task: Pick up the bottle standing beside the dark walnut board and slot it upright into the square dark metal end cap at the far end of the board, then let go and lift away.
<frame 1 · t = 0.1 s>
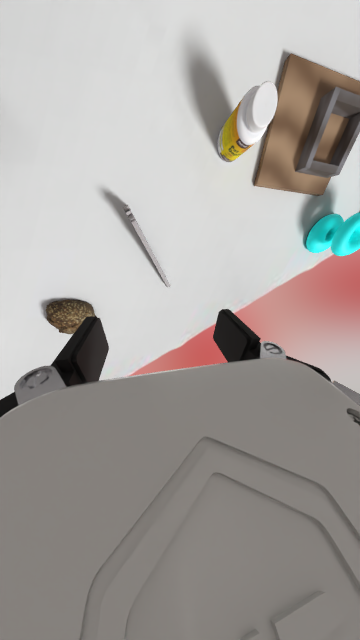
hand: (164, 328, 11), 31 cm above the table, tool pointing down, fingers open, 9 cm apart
donuts: (318, 234, 42), on the table
supplement bottle: (228, 144, 28), on the table
caliper: (151, 253, 36), on the table
bread roll: (74, 316, 41), on the table
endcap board: (305, 142, 30), on the table
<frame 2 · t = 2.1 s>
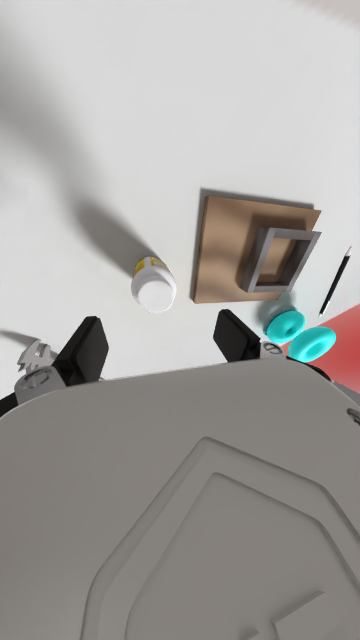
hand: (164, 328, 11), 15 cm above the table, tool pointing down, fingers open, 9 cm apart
pen: (329, 286, 35), on the table
donuts: (280, 324, 38), on the table
supplement bottle: (151, 273, 23), on the table
caliper: (82, 365, 31), on the table
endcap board: (248, 260, 25), on the table
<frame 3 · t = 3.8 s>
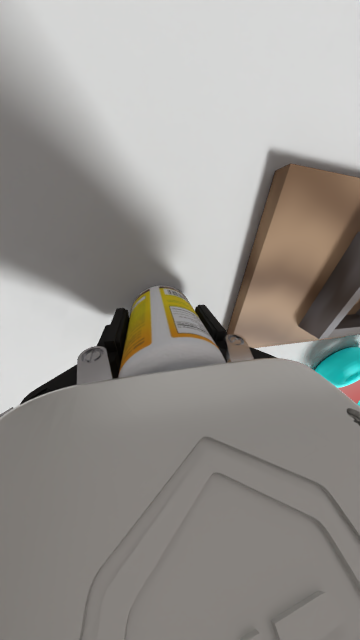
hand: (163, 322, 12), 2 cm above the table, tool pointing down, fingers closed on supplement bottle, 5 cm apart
donuts: (332, 361, 28), on the table
supplement bottle: (161, 310, 13), on the table, touching gripper
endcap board: (317, 284, 15), on the table
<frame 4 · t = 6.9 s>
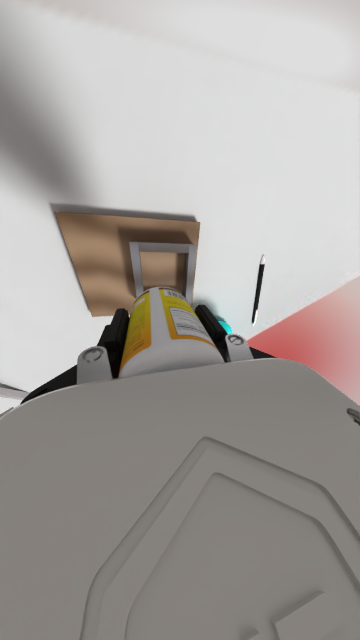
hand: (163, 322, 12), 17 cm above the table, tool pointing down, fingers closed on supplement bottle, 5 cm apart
pen: (255, 295, 34), on the table
supplement bottle: (161, 311, 13), point 15 cm above the table, touching gripper
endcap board: (141, 272, 25), on the table
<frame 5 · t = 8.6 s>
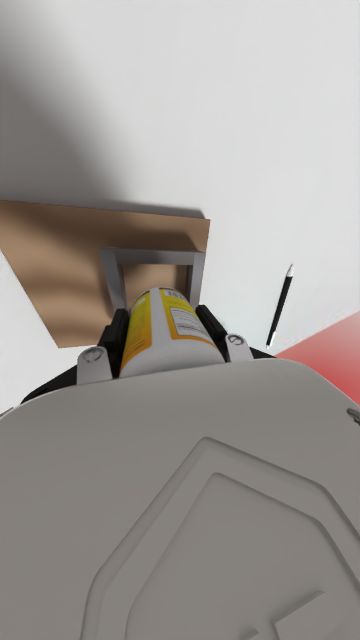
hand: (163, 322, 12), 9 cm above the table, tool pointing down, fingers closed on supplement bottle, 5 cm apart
pen: (274, 313, 27), on the table
supplement bottle: (161, 311, 13), point 6 cm above the table, touching gripper
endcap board: (125, 289, 18), on the table
when the fingers open (5 cm above the table, at t = 10.2 s): supplement bottle drops 1 cm, resting on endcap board.
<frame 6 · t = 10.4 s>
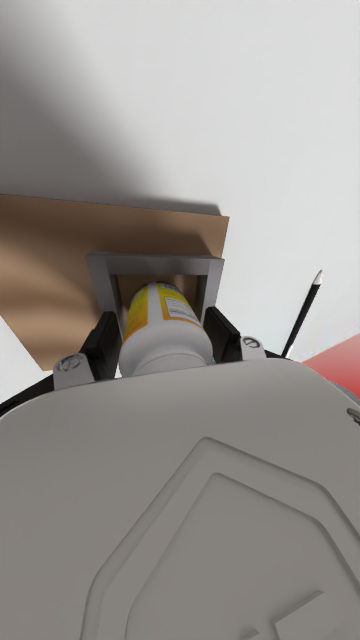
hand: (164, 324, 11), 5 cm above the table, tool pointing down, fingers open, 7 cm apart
pen: (293, 325, 24), on the table
supplement bottle: (159, 304, 15), point 1 cm above the table, touching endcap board
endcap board: (122, 301, 15), on the table
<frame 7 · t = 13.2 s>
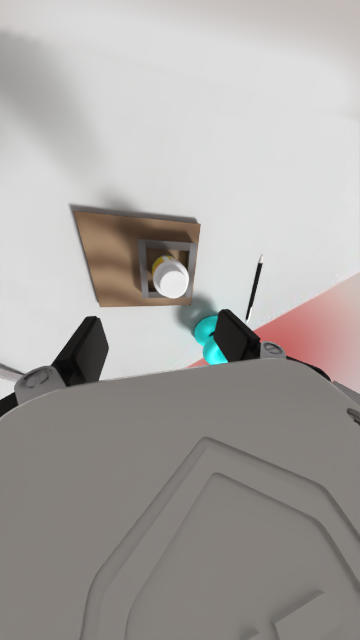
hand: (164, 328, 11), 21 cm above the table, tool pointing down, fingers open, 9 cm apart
pen: (251, 293, 36), on the table
donuts: (209, 328, 40), on the table
supplement bottle: (165, 269, 27), point 1 cm above the table, touching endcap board
caliper: (7, 364, 33), on the table
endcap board: (146, 267, 27), on the table
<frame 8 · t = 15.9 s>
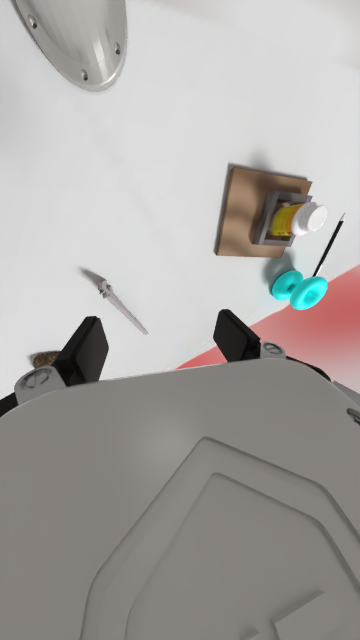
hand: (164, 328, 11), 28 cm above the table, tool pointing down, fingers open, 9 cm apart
pen: (324, 251, 43), on the table
donuts: (283, 284, 46), on the table
supplement bottle: (274, 222, 34), point 1 cm above the table, touching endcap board
caliper: (128, 310, 40), on the table
bread roll: (60, 363, 45), on the table
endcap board: (258, 221, 34), on the table
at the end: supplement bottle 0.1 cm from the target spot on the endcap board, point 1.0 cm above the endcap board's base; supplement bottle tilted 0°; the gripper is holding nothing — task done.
